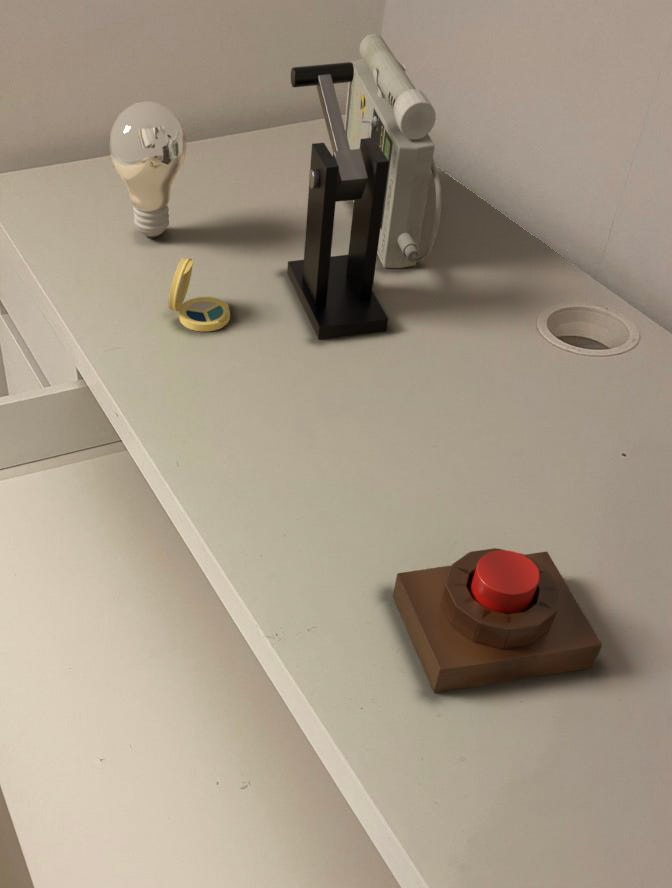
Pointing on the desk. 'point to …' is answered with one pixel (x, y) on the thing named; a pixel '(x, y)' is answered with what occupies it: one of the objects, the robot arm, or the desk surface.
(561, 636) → the button block
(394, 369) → the desk surface
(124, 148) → the light bulb
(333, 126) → the lever
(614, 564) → the desk surface
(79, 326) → the desk surface
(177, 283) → the eyeshadow
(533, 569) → the button
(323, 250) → the bracket
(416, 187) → the geiger counter
